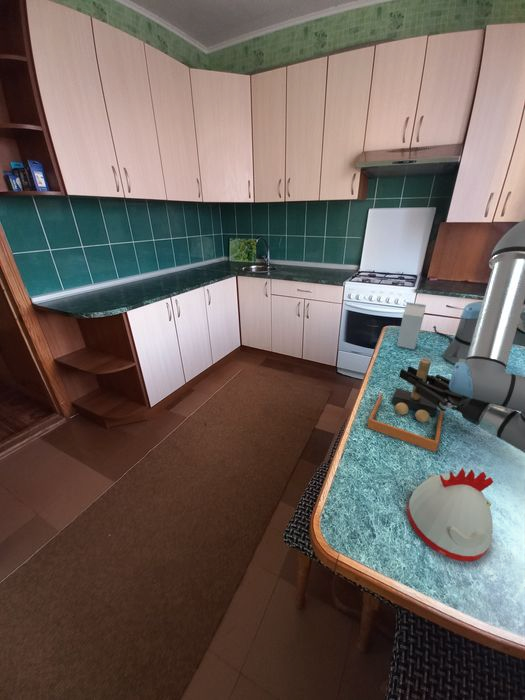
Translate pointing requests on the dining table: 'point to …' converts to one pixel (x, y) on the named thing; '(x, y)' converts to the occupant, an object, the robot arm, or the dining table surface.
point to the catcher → (404, 434)
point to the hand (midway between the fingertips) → (404, 371)
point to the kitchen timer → (453, 514)
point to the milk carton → (411, 325)
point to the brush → (413, 398)
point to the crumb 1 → (401, 408)
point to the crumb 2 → (422, 416)
